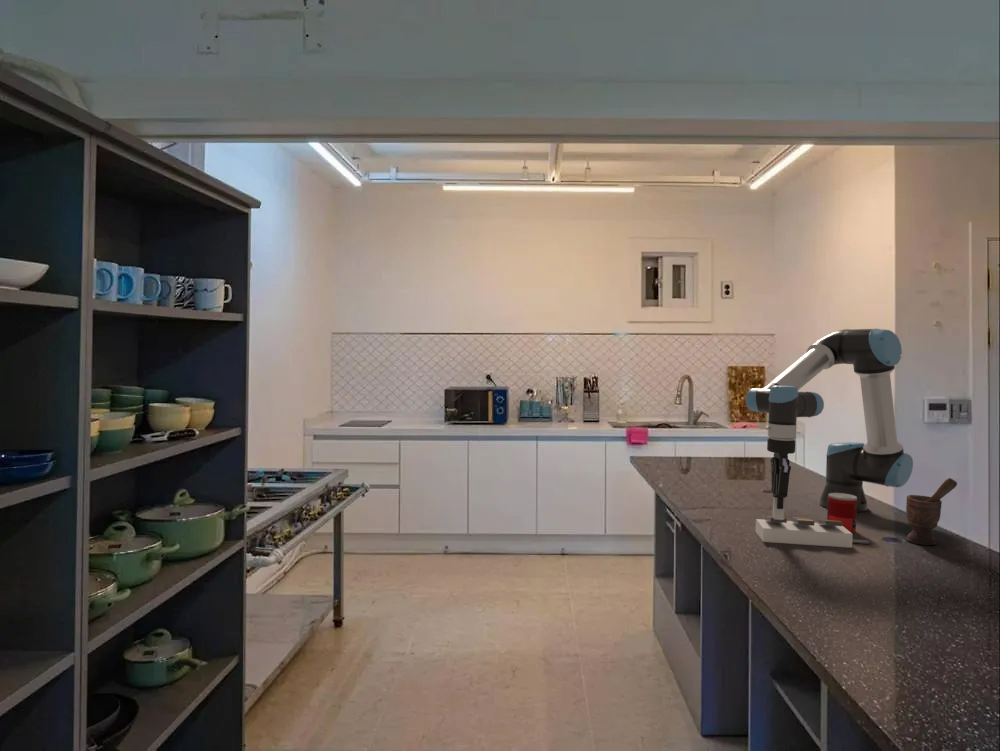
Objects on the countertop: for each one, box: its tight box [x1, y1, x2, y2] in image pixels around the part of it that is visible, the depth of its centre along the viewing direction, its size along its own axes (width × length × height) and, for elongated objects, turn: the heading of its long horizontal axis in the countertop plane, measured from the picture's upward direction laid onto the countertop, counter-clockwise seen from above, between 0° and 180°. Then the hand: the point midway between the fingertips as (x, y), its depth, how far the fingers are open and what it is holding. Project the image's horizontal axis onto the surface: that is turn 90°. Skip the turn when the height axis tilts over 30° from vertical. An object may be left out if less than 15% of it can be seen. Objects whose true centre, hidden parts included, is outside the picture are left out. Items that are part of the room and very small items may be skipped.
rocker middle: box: [790, 516, 815, 526], centre depth 188 cm, size 4×7×1 cm, turn 170°
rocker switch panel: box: [755, 518, 870, 549], centre depth 187 cm, size 30×10×4 cm, turn 80°
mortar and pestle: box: [905, 477, 958, 546], centre depth 186 cm, size 12×9×20 cm
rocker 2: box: [817, 519, 842, 526], centre depth 186 cm, size 4×7×1 cm, turn 170°
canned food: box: [826, 493, 858, 534], centre depth 198 cm, size 8×8×11 cm
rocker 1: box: [764, 515, 788, 523], centre depth 189 cm, size 4×7×1 cm, turn 170°
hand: (778, 518), depth 186 cm, fingers closed
